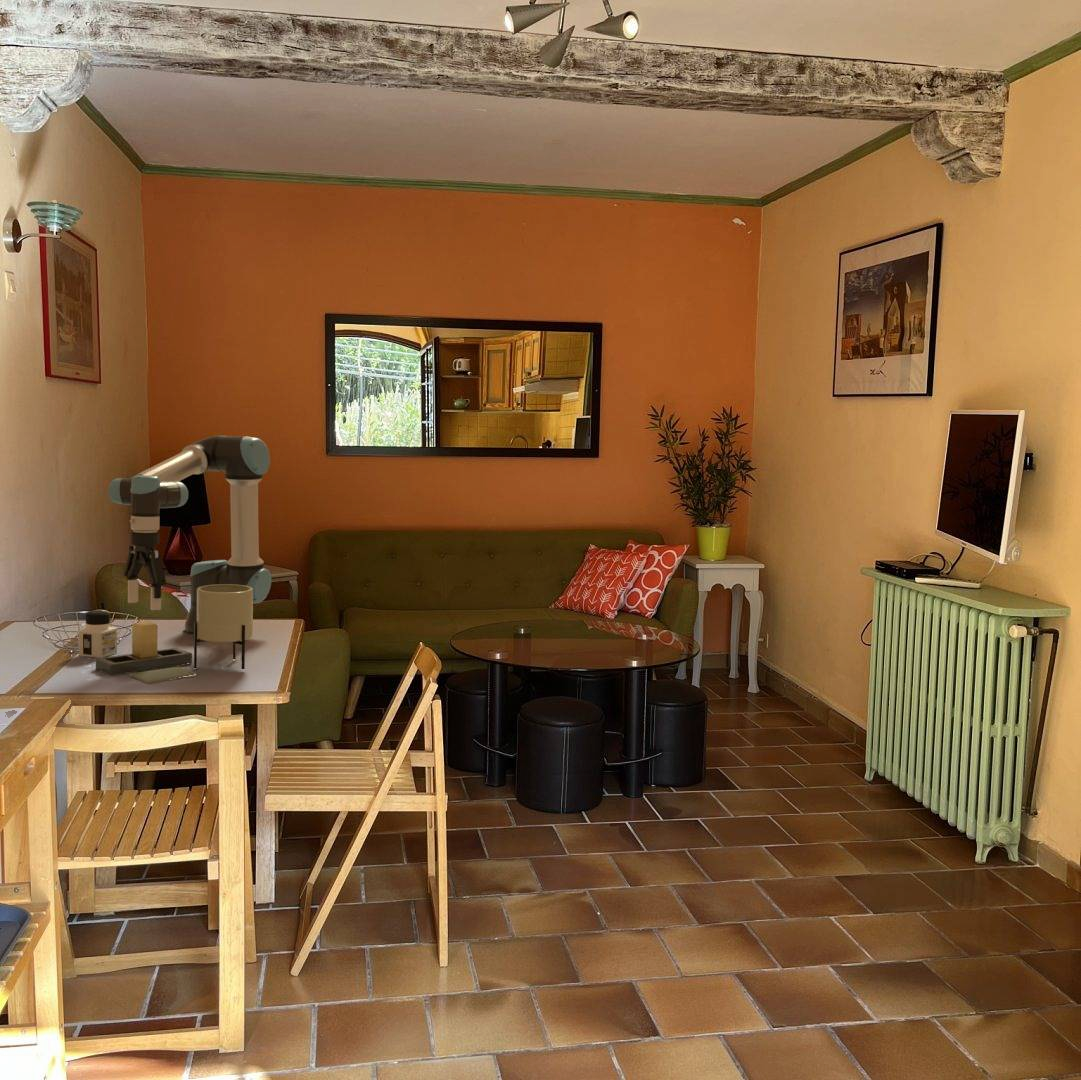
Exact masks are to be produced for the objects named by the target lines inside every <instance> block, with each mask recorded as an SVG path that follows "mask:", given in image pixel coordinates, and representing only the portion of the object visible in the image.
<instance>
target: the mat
mask: <svg viewBox="0 0 1081 1080" xmlns="http://www.w3.org/2000/svg"><path fill="white" fill-rule="evenodd" d="M194 674H196V675H197V673H196V672H193V671H191V670H188V669H185V668H183V667H181V666H172V667H165V668H158V669H152V670H145V671H139V672H132V673H130V677H132V678H135V679H137V680H139V681H141V682H143V683H146V684H153V683H160V682H166V681H171V680H170V679H173V680H175V679H174V678H179V677H183V676H189V675H194ZM179 679H180V678H179Z"/></svg>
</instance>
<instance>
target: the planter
mask: <svg viewBox="0 0 1081 1080" xmlns="http://www.w3.org/2000/svg"><path fill="white" fill-rule="evenodd" d="M253 606H254V603H253V588H252V587H249V586H245V585H236V584H215V585H206V586H201V587H198V588H197V622H194V633H193V636H194V637H193V638H194V639H193V641H194V642H193V643H194V644H193V645H194V646H193V651H194V652H193V669H194V668H197V665H198V662H197V661H198V659H197V656H198V643H203V642H204V643H205V642H209V643H232V660H233V659H236V654H237V652H236V648H237V645H241V669H245V665H246V663H245V661H246V660H245V659H246V656H245V655H246V640H249V639H251V638H252V637H253V622H254V621H253V620H254V619H253V617H254V616H253V615H254V613H253V611H254V607H253ZM236 644H237V645H236ZM197 669H198V668H197ZM245 670H246V669H245Z"/></svg>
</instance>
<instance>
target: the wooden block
mask: <svg viewBox="0 0 1081 1080" xmlns="http://www.w3.org/2000/svg"><path fill="white" fill-rule="evenodd" d="M158 632H159V631H158V625H157V623H154V622H152V621H140V622H139V621H137V622H133V623H132V625H131V633H132V635H131V637H132V638H131V650H132V651H131V654H132V657H135V658H137V659H146V658H153V657H157V650H158Z"/></svg>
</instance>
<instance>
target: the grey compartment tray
mask: <svg viewBox="0 0 1081 1080" xmlns="http://www.w3.org/2000/svg"><path fill="white" fill-rule="evenodd" d="M187 663H191V664H193V653H192V652H189V651H188V650H184V649H182V648H179V647H172V648H164V649H157V657H153V658H146V659H137V658H135V657H132V653H128V654H127V653H126V654H120V655H119V654H118V655H113V656H112V655H110V656H106V657H103V658H96V657H95V670H97V671H99V672H101V673H104V674H106V675H109V676H110V677H111V676H115V675H116V676H118V675H122V674H124V675H125V674H132V673H139V672H145V671H152V670H159V669H166V668H172V667H178V666H183V665H182V664H185V665H188V664H187ZM177 665H178V666H177Z"/></svg>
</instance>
